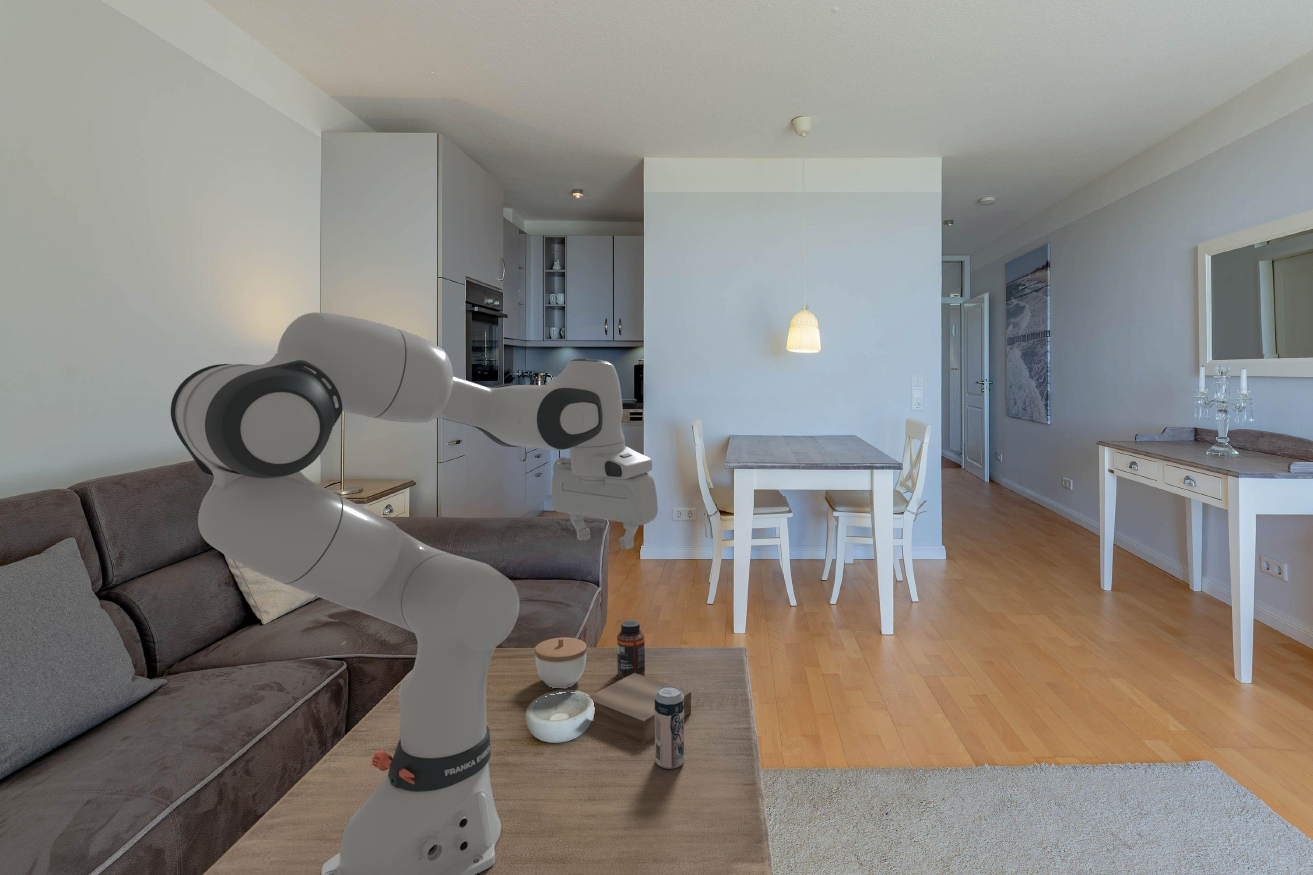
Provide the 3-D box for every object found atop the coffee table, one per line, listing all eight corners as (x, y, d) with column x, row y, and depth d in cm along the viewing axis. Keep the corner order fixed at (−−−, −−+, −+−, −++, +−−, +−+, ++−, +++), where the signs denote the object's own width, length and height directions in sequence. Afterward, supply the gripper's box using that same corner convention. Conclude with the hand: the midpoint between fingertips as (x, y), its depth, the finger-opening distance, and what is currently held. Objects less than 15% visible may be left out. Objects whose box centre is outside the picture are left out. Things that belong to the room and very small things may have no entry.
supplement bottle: (646, 669, 143) (646, 618, 143) (643, 680, 137) (643, 628, 137) (619, 668, 144) (619, 617, 143) (615, 679, 138) (614, 627, 137)
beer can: (681, 772, 104) (681, 699, 103) (652, 769, 105) (651, 696, 104) (686, 756, 109) (686, 685, 108) (658, 753, 110) (657, 683, 109)
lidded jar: (529, 677, 139) (528, 634, 139) (577, 668, 144) (577, 626, 143) (542, 698, 130) (542, 652, 129) (594, 688, 134) (593, 643, 134)
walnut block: (644, 743, 113) (644, 720, 112) (585, 718, 121) (585, 698, 121) (691, 712, 124) (691, 691, 123) (634, 691, 132) (634, 672, 132)
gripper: (539, 459, 108) (546, 540, 110) (634, 468, 96) (641, 558, 98) (566, 453, 113) (572, 529, 115) (660, 460, 101) (666, 546, 103)
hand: (605, 543), depth 107 cm, fingers open, 8 cm apart
